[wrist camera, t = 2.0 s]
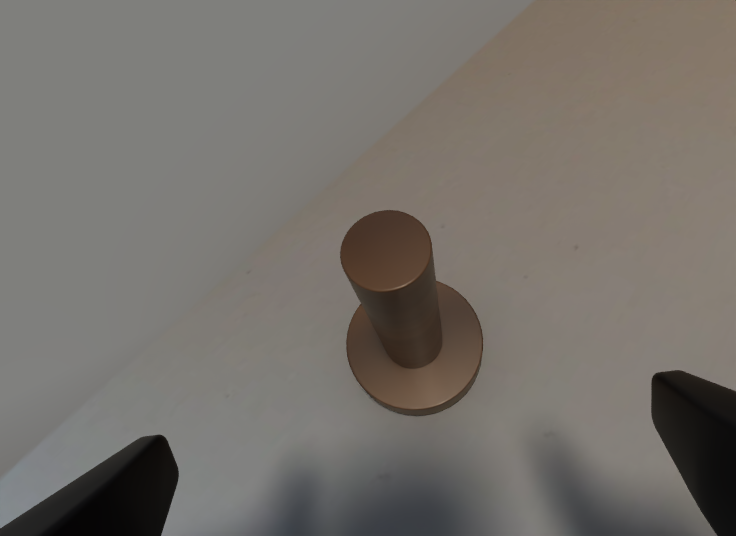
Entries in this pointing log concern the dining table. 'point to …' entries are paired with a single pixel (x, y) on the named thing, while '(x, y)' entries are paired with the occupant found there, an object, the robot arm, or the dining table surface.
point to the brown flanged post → (406, 319)
